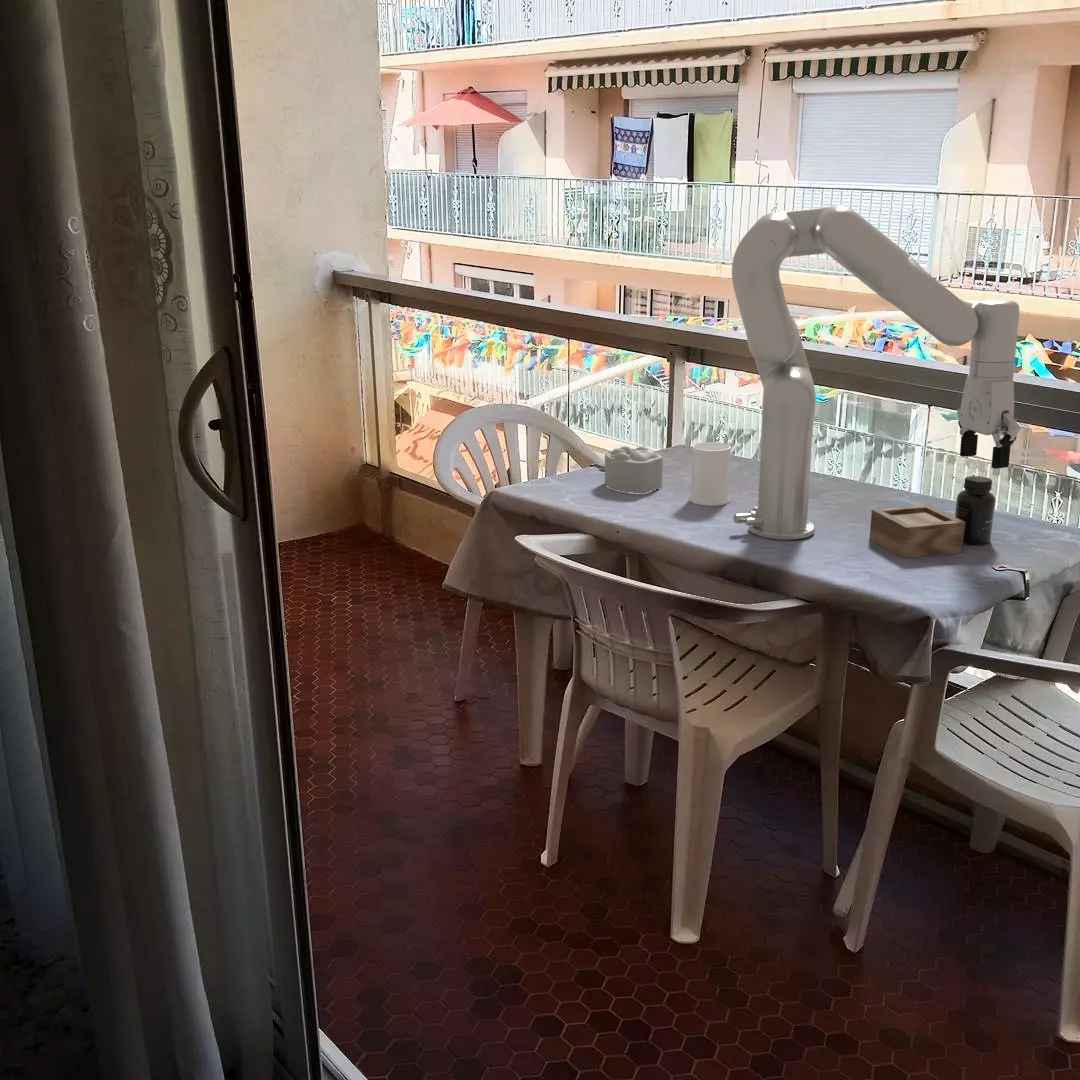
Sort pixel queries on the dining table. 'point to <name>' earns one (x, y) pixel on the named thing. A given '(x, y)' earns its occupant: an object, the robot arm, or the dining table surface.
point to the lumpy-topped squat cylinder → (633, 469)
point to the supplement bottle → (976, 509)
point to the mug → (710, 474)
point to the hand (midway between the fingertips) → (983, 461)
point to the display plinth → (917, 531)
